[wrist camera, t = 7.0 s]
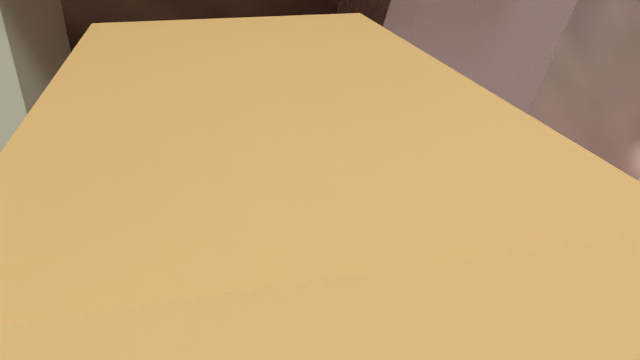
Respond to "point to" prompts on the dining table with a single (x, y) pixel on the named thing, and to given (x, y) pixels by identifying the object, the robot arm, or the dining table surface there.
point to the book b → (28, 57)
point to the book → (303, 206)
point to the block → (479, 37)
